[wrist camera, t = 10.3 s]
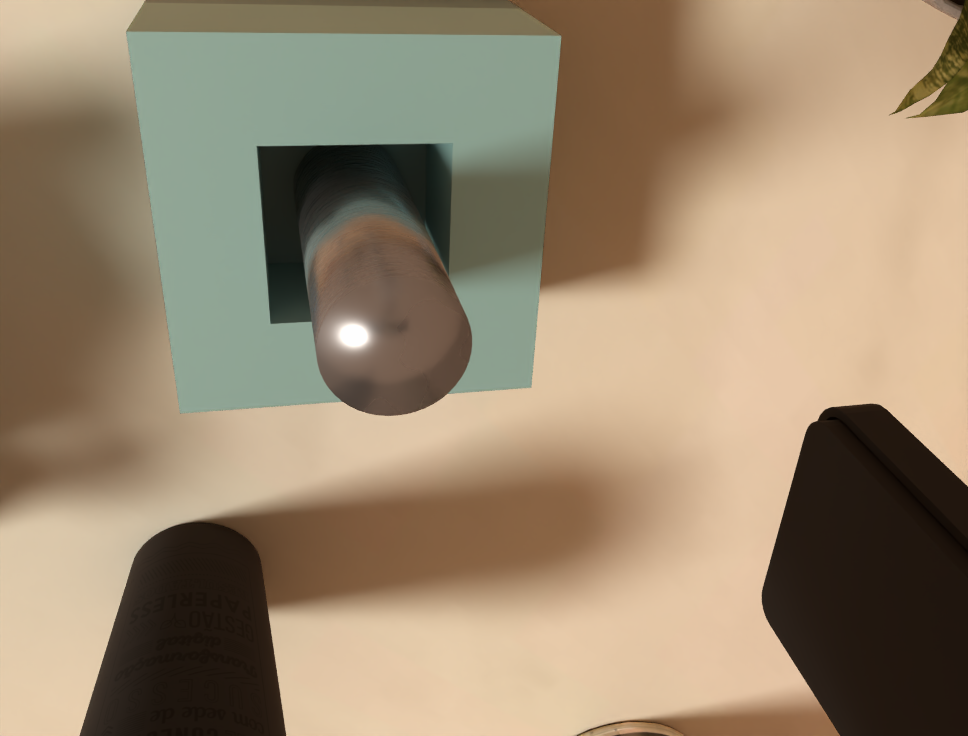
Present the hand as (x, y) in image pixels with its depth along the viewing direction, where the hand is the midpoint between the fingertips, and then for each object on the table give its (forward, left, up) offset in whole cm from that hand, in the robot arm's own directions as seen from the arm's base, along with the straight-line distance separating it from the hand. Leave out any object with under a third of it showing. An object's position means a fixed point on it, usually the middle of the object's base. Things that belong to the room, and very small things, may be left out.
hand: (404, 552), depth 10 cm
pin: (+2, +1, -19) cm, 19 cm away
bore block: (+2, +1, -21) cm, 21 cm away
